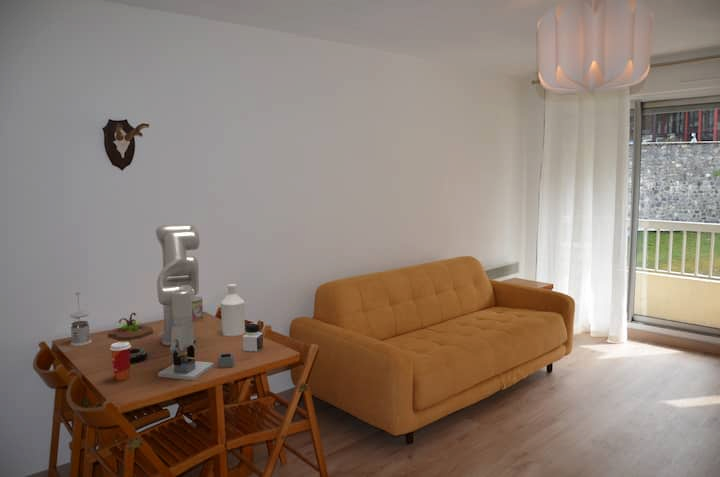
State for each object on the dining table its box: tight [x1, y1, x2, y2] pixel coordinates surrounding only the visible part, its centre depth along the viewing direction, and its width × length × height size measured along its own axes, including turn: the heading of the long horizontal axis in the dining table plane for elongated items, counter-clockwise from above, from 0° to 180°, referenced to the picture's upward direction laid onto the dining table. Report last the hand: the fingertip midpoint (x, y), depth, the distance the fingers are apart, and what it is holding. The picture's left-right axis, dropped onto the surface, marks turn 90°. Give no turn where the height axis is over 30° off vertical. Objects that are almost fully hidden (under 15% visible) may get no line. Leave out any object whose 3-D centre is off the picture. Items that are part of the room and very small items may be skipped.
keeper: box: [157, 350, 215, 381], centre depth 224 cm, size 16×16×10 cm
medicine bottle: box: [242, 322, 264, 353], centre depth 252 cm, size 7×7×12 cm
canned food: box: [192, 295, 204, 323], centre depth 302 cm, size 11×11×12 cm
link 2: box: [217, 352, 235, 369], centre depth 232 cm, size 6×6×4 cm
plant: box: [107, 312, 154, 342], centre depth 275 cm, size 20×20×11 cm
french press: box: [69, 291, 93, 347], centre depth 262 cm, size 10×12×25 cm
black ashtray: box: [130, 347, 148, 364], centre depth 239 cm, size 12×12×4 cm
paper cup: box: [109, 341, 132, 382], centre depth 216 cm, size 8×8×14 cm
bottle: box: [220, 283, 246, 337], centre depth 276 cm, size 12×12×25 cm
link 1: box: [174, 358, 196, 374], centre depth 221 cm, size 6×6×4 cm
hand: (184, 361), depth 221 cm, fingers open, 9 cm apart
